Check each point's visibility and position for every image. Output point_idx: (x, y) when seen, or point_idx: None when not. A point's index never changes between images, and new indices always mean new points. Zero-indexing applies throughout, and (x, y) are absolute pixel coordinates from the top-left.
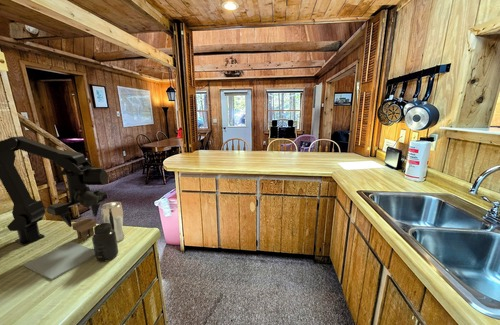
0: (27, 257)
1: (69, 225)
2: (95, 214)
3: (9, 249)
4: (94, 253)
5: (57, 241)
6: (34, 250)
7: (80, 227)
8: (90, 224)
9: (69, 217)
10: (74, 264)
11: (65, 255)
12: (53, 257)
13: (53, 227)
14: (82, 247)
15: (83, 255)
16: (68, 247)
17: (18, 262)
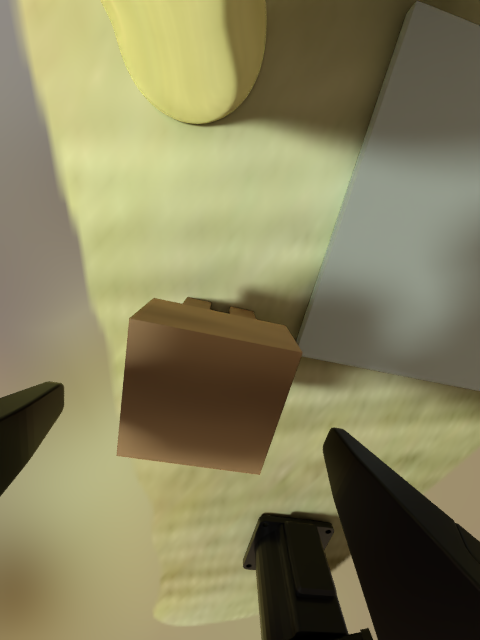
0: (418, 433)
1: (358, 448)
2: (36, 399)
3: None
4: (440, 28)
5: (288, 433)
6: None
7: (296, 352)
8: (198, 322)
9: (476, 579)
10: None
11: (441, 256)
12: (452, 310)
13: (182, 549)
14: (357, 222)
15: (455, 116)
16: (357, 318)
17: (451, 432)
